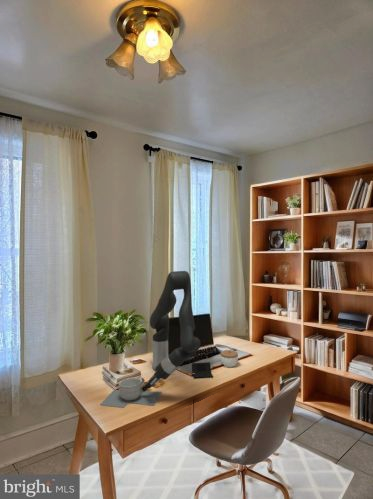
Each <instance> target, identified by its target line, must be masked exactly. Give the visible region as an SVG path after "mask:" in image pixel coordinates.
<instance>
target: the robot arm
mask: <svg viewBox="0 0 373 499" xmlns="http://www.w3.org/2000/svg"><path fill="white" fill-rule="evenodd" d="M177 290H183V300H182V301H181V302H182V303H181V305H180V307H179V311H178V321H179V326H180V335H179V336H180V338H179V339H180V347H177V348H174V350H173V351H172V352H170V353H169V331H170V316H169V314H170V313H171V312H172V311H173V310H174V308H175V306H176V304H177V296H176V295H175V294H176V293H174V291H177ZM149 326H150V328H151V329H154V330H159V329H160V330H159V331H157V332H156V333H154V334H153V335H152V370H154V371H155V372H154V373H153V374H152V375H151V376H150V378H149V379H148V380H147V382H146V384H145V383H144V384H143V386H142V390H143V391H144V392H145V391H148V389H151V388H152V387H154V386H155V385H156V384H157V383H159V382H160V380H167V379H168V378H169V377H170V376H171V375H172V374H173V373H174V372H176V371H177V369H178V367H180V366H181V365H182V364H183V363H185V361H186V360H187V359H189V358H190V357H191V356H193V355H195V354H196V353H197V352H198V351H199V350H200V348H201V340H200V338H198V337H197V336H194V331H195V330H196V324H195V318H194V313H193V303H192V283H191V277H190V273H189V272H188V271H186V270H178V271H171V272H169V273H168V274H167V277H166V280H165V283H164V286H163V290H162V293H161V295H160V297H159V299H158V301H157V304H156V306H155V308H154V310H153V311H152V313H151V315H150V318H149Z"/></svg>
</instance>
